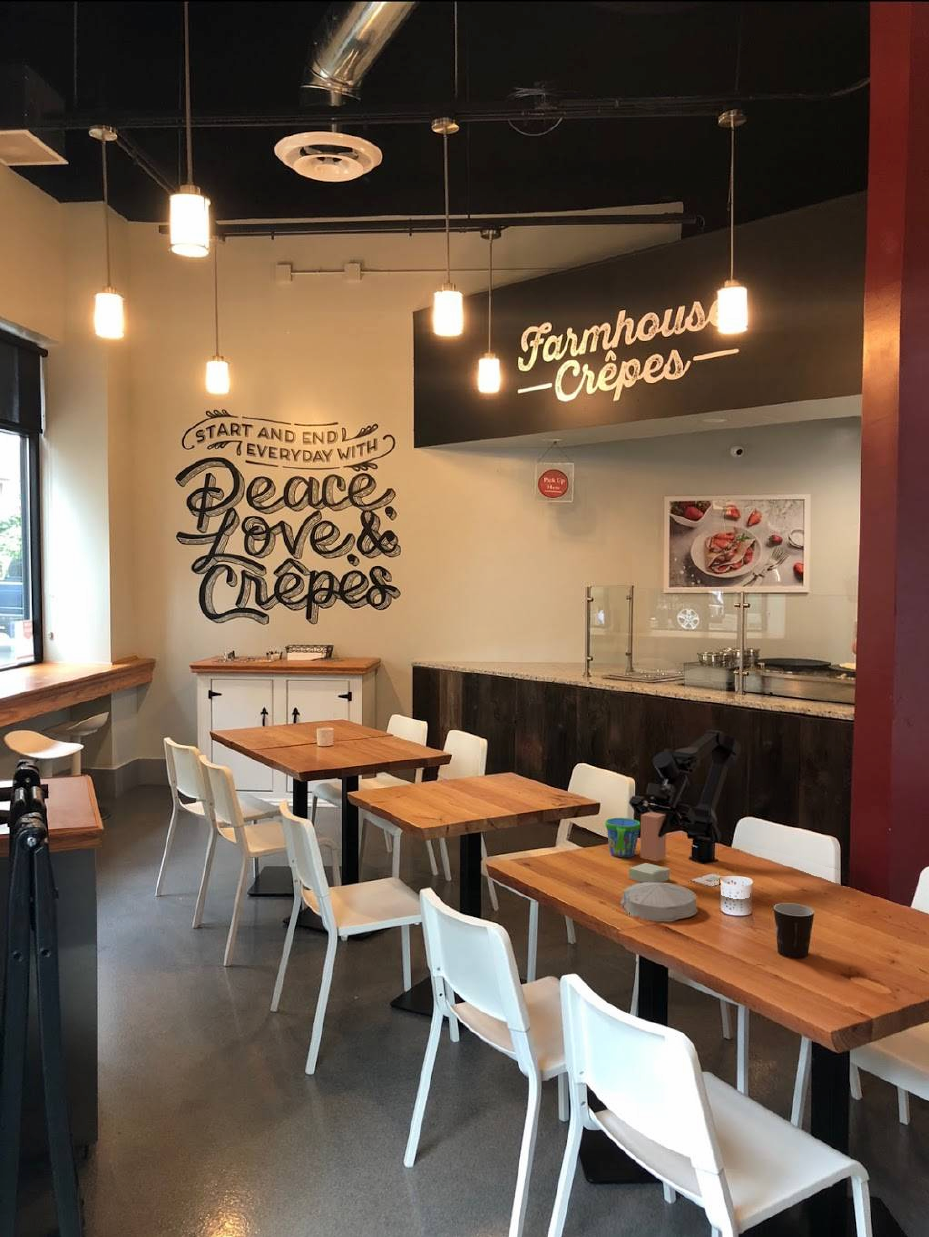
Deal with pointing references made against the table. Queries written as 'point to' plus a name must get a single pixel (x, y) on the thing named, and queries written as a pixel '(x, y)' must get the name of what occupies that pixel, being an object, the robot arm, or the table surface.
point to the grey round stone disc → (659, 901)
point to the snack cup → (622, 836)
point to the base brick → (649, 873)
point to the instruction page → (708, 880)
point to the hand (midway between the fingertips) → (650, 834)
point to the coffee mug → (793, 929)
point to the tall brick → (652, 836)
